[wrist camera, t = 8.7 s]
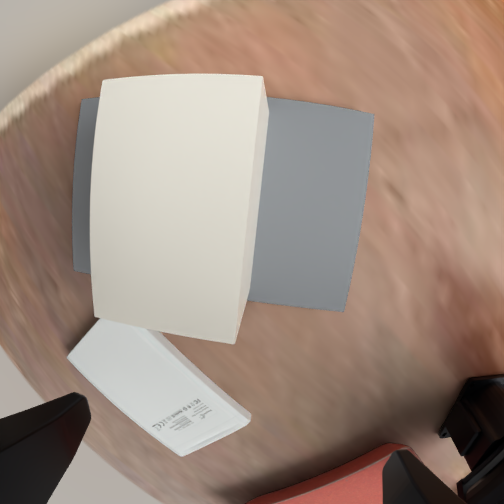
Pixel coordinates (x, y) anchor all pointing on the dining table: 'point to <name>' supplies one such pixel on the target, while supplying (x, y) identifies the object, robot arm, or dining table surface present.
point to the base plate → (281, 201)
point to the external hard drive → (157, 386)
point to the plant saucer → (340, 482)
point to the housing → (177, 201)
